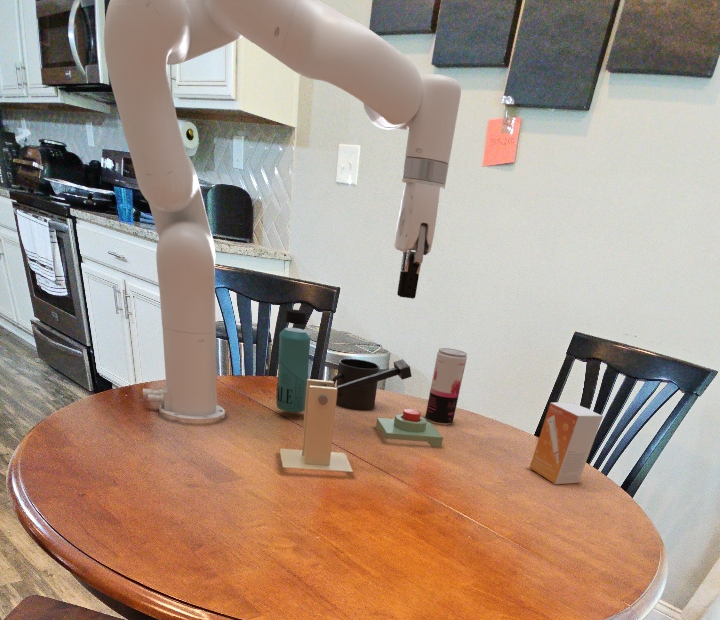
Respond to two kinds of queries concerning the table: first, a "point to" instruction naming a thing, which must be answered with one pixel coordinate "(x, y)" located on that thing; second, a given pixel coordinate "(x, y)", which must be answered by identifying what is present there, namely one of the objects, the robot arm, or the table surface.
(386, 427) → the control block
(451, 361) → the beverage can
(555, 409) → the small box
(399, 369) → the lever
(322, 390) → the bracket
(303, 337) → the beverage bottle
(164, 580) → the table surface
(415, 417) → the button
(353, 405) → the mug
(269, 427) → the table surface
